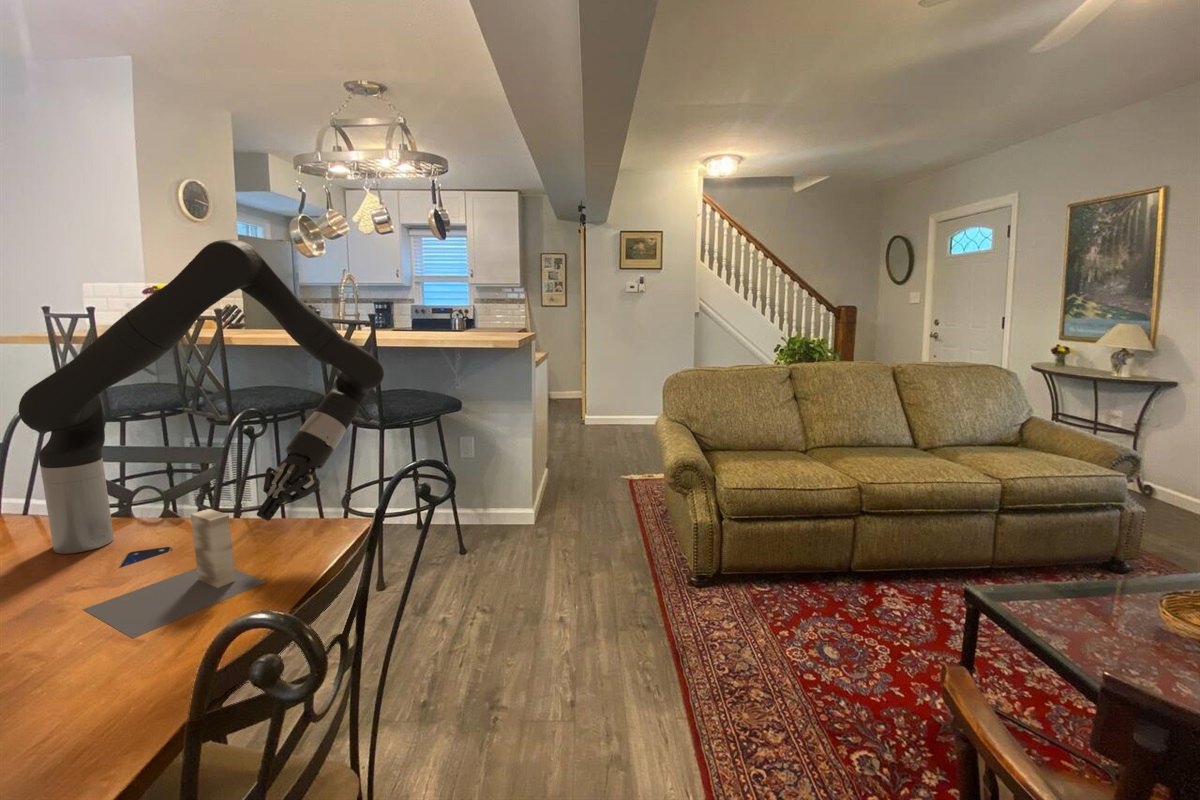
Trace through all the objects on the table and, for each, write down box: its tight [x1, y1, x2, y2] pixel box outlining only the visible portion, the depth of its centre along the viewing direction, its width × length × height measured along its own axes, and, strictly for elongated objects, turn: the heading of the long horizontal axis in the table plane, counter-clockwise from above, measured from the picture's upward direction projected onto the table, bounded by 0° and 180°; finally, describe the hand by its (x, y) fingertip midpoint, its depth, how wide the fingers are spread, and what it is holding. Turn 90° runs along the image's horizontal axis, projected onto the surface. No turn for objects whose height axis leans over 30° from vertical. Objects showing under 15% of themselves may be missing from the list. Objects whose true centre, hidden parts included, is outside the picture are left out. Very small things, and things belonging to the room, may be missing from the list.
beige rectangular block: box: [190, 508, 236, 588], centre depth 103 cm, size 6×3×12 cm, turn 61°
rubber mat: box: [82, 567, 267, 639], centre depth 99 cm, size 16×20×1 cm
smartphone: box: [118, 546, 173, 569], centre depth 110 cm, size 7×1×15 cm
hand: (262, 518), depth 110 cm, fingers closed
